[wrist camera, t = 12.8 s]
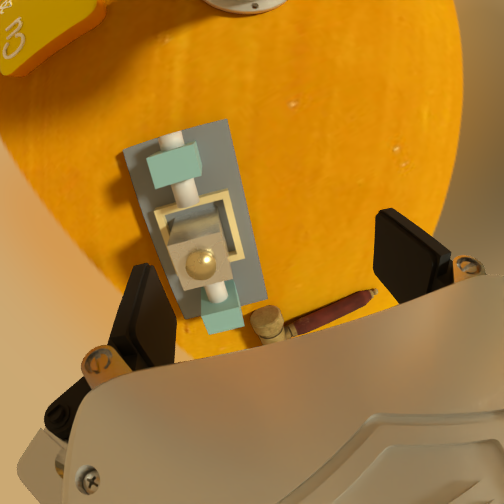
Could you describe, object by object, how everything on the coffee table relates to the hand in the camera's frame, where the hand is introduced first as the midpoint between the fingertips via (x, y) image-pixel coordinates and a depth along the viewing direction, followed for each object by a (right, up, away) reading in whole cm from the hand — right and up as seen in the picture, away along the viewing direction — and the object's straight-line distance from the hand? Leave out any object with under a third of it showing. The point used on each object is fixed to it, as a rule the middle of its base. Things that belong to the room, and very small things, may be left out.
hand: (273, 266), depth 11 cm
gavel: (+10, -9, +33) cm, 36 cm away
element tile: (-27, +32, +7) cm, 42 cm away
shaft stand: (-7, +4, +23) cm, 25 cm away
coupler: (-7, +3, +22) cm, 23 cm away
